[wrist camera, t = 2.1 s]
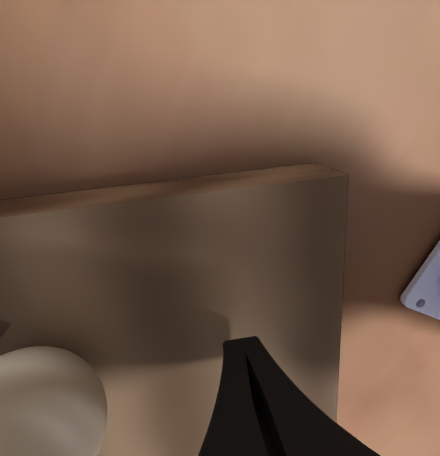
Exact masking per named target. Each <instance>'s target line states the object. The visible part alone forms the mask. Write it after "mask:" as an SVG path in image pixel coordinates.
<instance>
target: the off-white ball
mask: <svg viewBox="0 0 440 456" xmlns="http://www.w3.org/2000/svg"><path fill="white" fill-rule="evenodd" d="M106 425H107V399H106V394H105V390H104V387H103V385H102V382H101V380H100V378H99V376H98V375H97V373H96V372H95V370H94V369H93V368H92V366H91V365H90V364H89V363H87V362H86V361H85V360H84V359H82V358H81V357H80V356H78V355H76V354H75V353H73V352H70V351H68V350H65V349H62V348H57V347H49V346H34V347H27V348H22V349H18V350H14V351H11V352H8V353H6V354H4V355H1V356H0V456H97V455H98V453H99V451H100V448H101V445H102V442H103V439H104V436H105V431H106Z"/></svg>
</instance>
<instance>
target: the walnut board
mask: <svg viewBox="0 0 440 456" xmlns="http://www.w3.org/2000/svg"><path fill="white" fill-rule="evenodd" d="M348 176H349V175H347V174H345V173H342V172H339V171H337V170H334V169H331V168H328V167H326V166H323V165H320V164H318V163H308V164H300V165H291V166H283V167H274V168H266V169H258V170H249V171H241V172H232V173H224V174H215V175H207V176H199V177H190V178H182V179H173V180H165V181H157V182H148V183H140V184H131V185H123V186H114V187H106V188H98V189H89V190H81V191H72V192H64V193H56V194H47V195H39V196H30V197H22V198H13V199H5V200H0V356H1V355H4V354H6V353H8V352H11V351H14V350H18V349H22V348H27V347H34V346H49V347H57V348H62V349H65V350H68V351H70V352H73V353H75V354H76V355H78V356H80V357H81V358H82V359H84V360H85V361H86V362H87V363H89V364H90V365H91V366H92V368H93V369H94V370H95V372H96V373H97V375H98V376H99V378H100V380H101V382H102V385H103V387H104V390H105V394H106V399H107V425H106V431H105V436H104V439H103V442H102V445H101V448H100V451H99V453H98V455H97V456H196V455H198V454H199V452H200V449H201V446H202V444H203V441H204V438H205V436H206V433H207V430H208V426H209V423H210V420H211V417H212V413H213V410H214V406H215V402H216V398H217V394H218V389H219V385H220V379H221V373H222V365H223V343H224V341H226V340H233V339H239V338H245V337H252V336H257V337H258V338H259V339H260V341H261V342H262V344H263V345H264V347H265V348H266V350H267V351H268V352H269V354H270V355H271V356H272V358H273V359H274V360H275V361H276V363H277V364H278V365H279V366H280V368H281V369H282V370H283V371H284V372H285V373H286V375H287V376H288V377H289V378H290V379H291V380H292V381H293V383H294V384H295V385H296V386H297V387H298V388H299V389H300V390H301V391H302V392H303V393H304V394H305V395H306V396H307V397H308V398H309V399H310V400H311V401H312V402H313V403H314V404H315V405H316V406H317V407H319V408H320V409H321V410H322V411H323V412H324V413H325V414H326V415H327V416H329V417H330V418H331V419H332V420H333V421H335V422H336V421H337V401H338V380H339V360H340V340H341V319H342V299H343V278H344V258H345V237H346V217H347V196H348Z"/></svg>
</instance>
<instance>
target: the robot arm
mask: <svg viewBox="0 0 440 456" xmlns="http://www.w3.org/2000/svg"><path fill="white" fill-rule="evenodd" d="M418 300H419V301H418ZM400 301H401V303H402V304H403V305H405V306H406V307H407V308H410V309H412V310H415V311H418V312H420V313H423V314H425V315H428V316H431V317H433V318H436V319H438V320H440V241H439V242H438V243H437V245H436V246H435V248H434V249H433V251H432V252H431V253H430V255H429V256H428V258H427V259H426V261H425V262H424V263H423V265H422V266H421V268H420V269H419V271H418V272H417V273H416V275H415V276H414V278H413V279H412V281H411V282H410V283H409V285H408V286H407V288H406V289H405V291H404V292H403V293H402V295H401V298H400ZM417 301H418V302H417ZM198 456H380V455H379V454H377V453H376V452H374V451H373V450H371V449H370V448H368V447H367V446H366V445H364V444H363V443H362V442H360V441H359V440H358V439H356V438H355V437H354V436H352V435H351V434H350V433H348V432H347V431H346V430H345V429H343V428H342V427H341V426H339V425H338V424H337V423H336V422H335V421H333V420H332V419H331V418H330V417H329V416H327V415H326V414H325V413H324V412H323V411H322V410H321V409H320V408H319V407H317V406H316V405H315V404H314V403H313V402H312V401H311V400H310V399H309V398H308V397H307V396H306V395H305V394H304V393H303V392H302V391H301V390H300V389H299V388H298V387H297V386H296V385H295V384H294V383H293V381H292V380H291V379H290V378H289V377H288V376H287V375H286V373H285V372H284V371H283V370H282V369H281V368H280V366H279V365H278V364H277V363H276V361H275V360H274V359H273V358H272V356H271V355H270V354H269V352H268V351H267V350H266V348H265V347H264V345H263V344H262V342H261V341H260V339H259V338H258V337H257V336H252V337H245V338H239V339H233V340H226V341H224V343H223V365H222V373H221V379H220V385H219V389H218V394H217V398H216V402H215V406H214V410H213V413H212V417H211V420H210V423H209V426H208V430H207V433H206V436H205V438H204V441H203V444H202V446H201V449H200V452H199V454H198Z"/></svg>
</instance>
